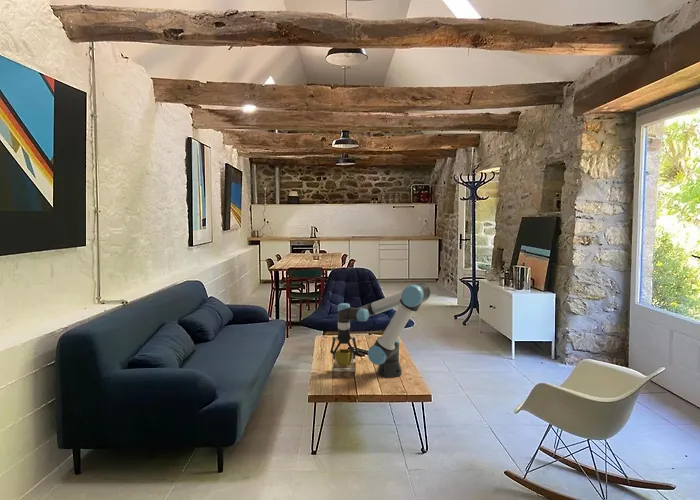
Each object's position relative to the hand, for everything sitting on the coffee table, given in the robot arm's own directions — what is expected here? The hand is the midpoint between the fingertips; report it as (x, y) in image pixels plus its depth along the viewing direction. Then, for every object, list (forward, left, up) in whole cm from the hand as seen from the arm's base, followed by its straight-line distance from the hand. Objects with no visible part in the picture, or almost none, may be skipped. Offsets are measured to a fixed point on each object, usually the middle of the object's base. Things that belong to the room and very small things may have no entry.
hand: (344, 364), depth 301 cm
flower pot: (0, 0, -1) cm, 1 cm away
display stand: (0, 0, -6) cm, 6 cm away
